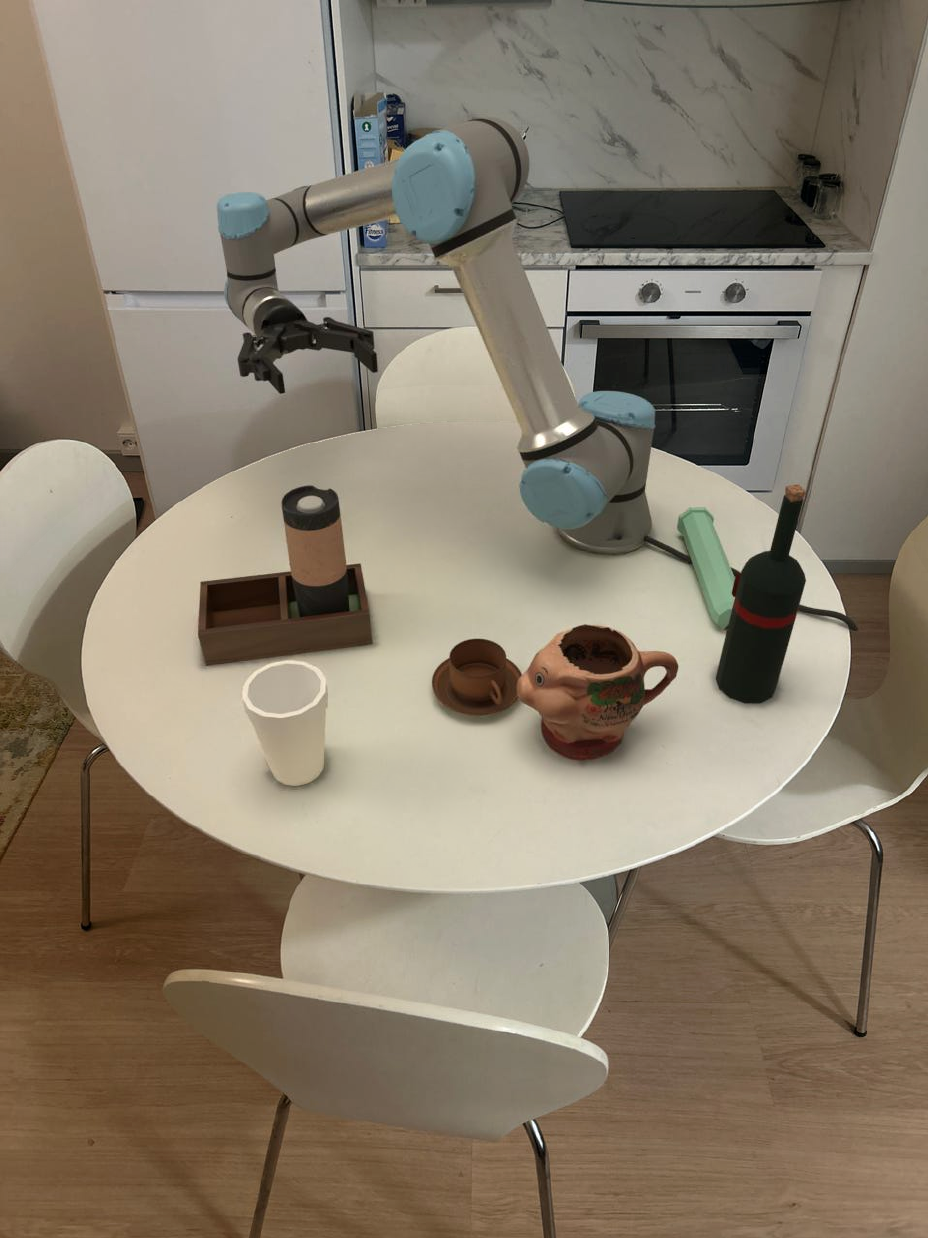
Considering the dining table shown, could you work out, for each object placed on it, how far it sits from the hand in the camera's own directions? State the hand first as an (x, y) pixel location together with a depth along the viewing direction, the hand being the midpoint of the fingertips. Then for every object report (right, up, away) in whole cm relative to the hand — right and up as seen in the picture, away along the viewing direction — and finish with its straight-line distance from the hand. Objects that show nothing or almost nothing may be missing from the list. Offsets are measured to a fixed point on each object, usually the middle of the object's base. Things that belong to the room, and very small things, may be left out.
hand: (329, 373), depth 124 cm
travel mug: (-2, -33, +8) cm, 34 cm away
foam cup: (-2, -51, -13) cm, 53 cm away
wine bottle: (+56, -41, -1) cm, 69 cm away
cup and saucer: (+20, -43, -3) cm, 48 cm away
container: (+56, -28, +16) cm, 64 cm away
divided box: (-7, -35, +7) cm, 36 cm away
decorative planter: (+35, -48, -9) cm, 59 cm away
